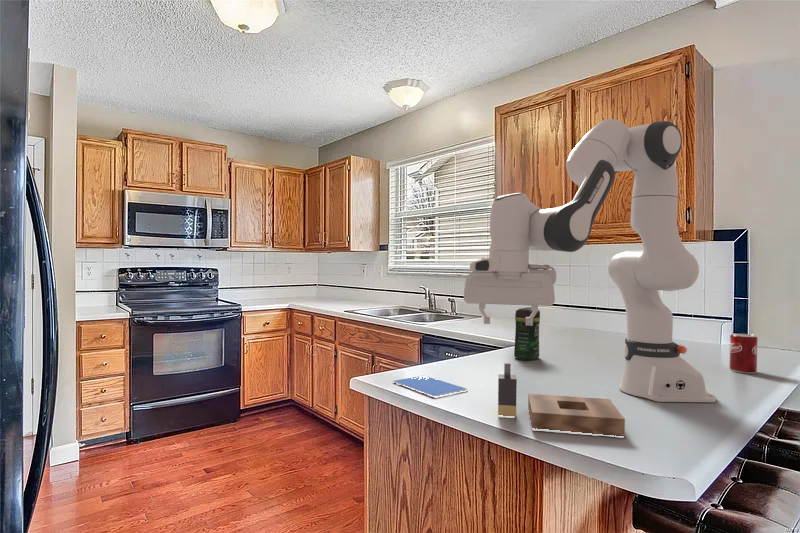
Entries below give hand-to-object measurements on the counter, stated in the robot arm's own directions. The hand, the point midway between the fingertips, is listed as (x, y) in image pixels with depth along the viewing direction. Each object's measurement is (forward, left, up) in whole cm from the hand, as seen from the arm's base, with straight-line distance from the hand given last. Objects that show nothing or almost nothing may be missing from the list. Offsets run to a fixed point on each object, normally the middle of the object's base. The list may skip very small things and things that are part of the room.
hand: (507, 324), depth 109 cm
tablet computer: (+21, -20, -22) cm, 36 cm away
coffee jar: (-8, -67, -21) cm, 71 cm away
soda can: (-76, -63, -21) cm, 101 cm away
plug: (0, 0, -21) cm, 21 cm away
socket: (-14, +2, -21) cm, 25 cm away
